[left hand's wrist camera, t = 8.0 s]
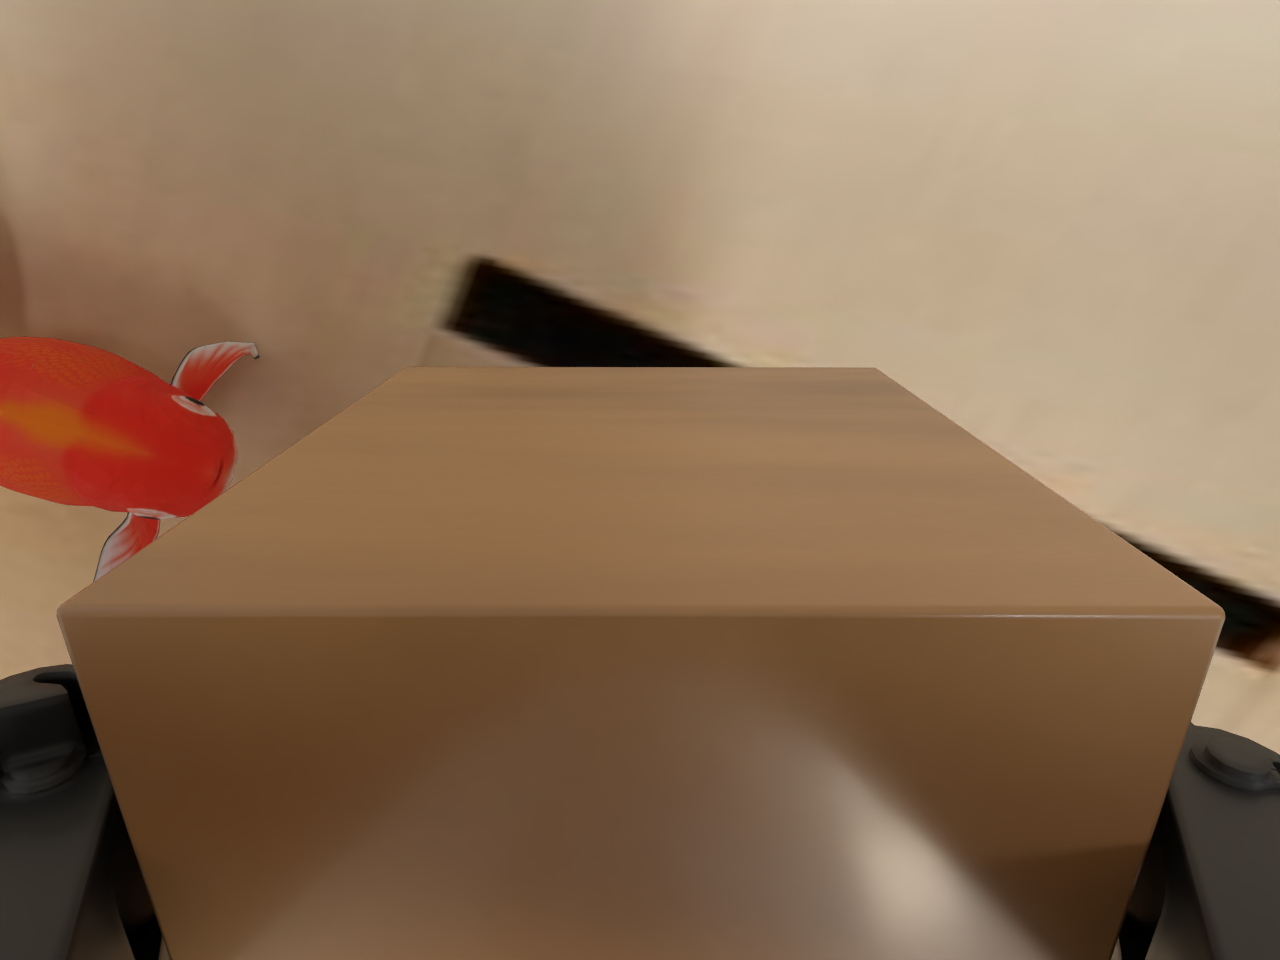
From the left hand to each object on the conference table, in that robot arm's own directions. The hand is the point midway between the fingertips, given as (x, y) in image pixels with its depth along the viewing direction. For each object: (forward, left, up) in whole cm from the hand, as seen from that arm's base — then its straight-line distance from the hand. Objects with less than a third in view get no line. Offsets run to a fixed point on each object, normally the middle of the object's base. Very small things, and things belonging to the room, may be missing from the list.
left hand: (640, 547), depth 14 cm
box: (+5, +9, -1) cm, 11 cm away
